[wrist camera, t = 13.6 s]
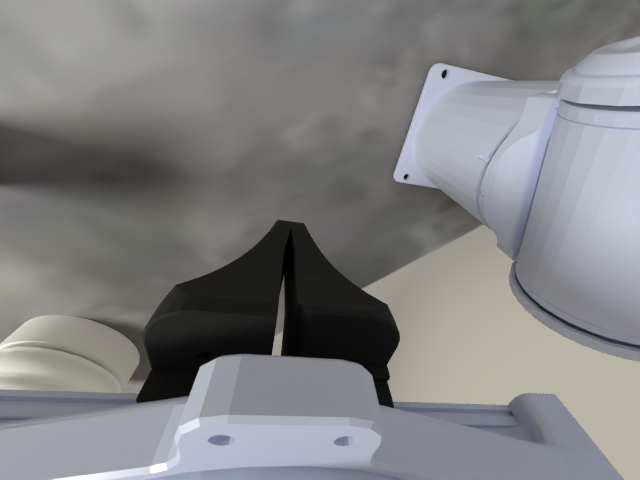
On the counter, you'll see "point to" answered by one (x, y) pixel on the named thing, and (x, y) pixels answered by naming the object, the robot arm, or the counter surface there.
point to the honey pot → (67, 356)
